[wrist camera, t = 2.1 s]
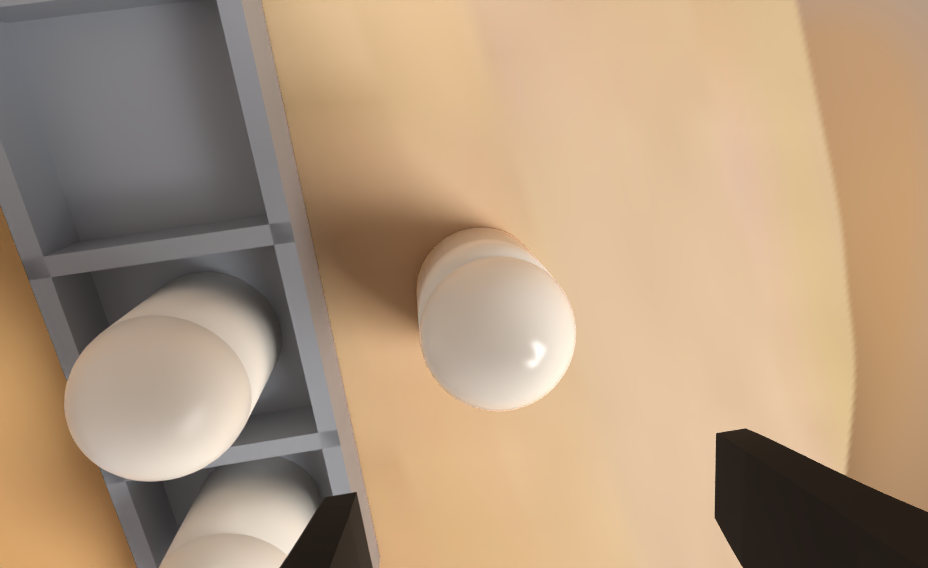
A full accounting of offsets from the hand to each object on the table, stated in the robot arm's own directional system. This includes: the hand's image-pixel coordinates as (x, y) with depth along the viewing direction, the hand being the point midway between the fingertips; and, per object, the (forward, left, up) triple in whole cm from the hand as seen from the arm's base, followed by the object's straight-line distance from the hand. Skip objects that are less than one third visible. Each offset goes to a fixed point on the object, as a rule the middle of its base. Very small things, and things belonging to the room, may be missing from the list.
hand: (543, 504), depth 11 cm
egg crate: (-9, +1, -10) cm, 13 cm away
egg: (0, +1, -10) cm, 10 cm away
